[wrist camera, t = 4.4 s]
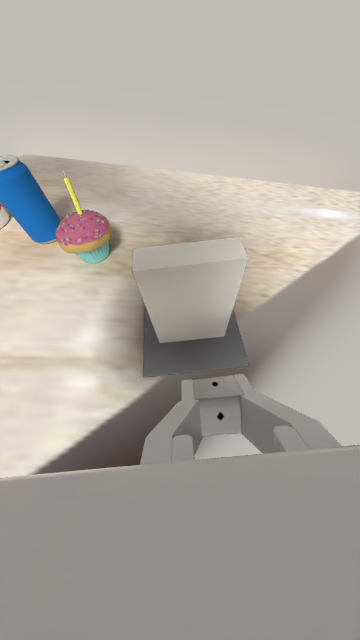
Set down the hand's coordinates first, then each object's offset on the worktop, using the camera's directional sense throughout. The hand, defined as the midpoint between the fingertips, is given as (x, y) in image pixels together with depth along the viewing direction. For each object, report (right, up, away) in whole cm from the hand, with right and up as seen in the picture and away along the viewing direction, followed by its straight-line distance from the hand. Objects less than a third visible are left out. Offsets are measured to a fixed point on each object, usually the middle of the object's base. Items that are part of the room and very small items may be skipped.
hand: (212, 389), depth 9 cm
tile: (0, +2, +14) cm, 15 cm away
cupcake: (-17, +15, +25) cm, 33 cm away
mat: (-1, +6, +18) cm, 18 cm away
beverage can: (-28, +20, +29) cm, 45 cm away
